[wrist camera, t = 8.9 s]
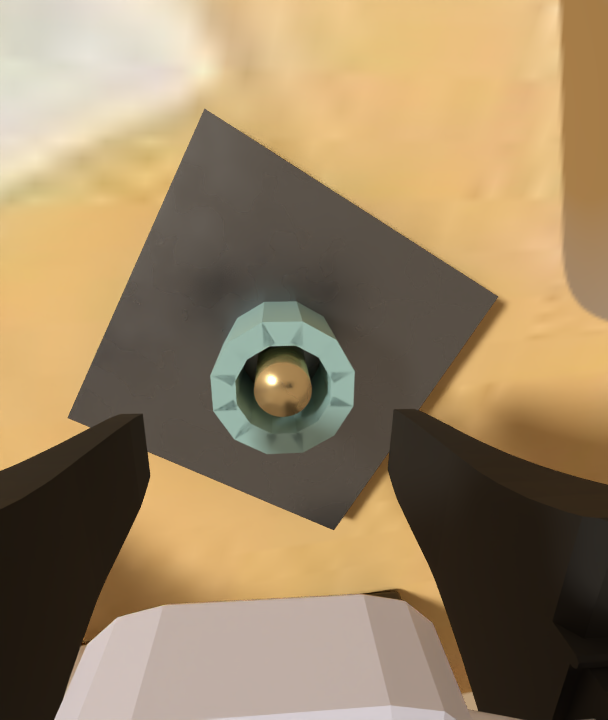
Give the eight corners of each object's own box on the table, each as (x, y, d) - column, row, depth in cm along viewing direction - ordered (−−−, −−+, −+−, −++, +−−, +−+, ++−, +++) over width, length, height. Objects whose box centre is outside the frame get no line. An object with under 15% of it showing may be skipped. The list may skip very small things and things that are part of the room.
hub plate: (330, 512, 24) (346, 591, 19) (81, 404, 21) (17, 464, 15) (482, 291, 20) (554, 314, 15) (210, 118, 17) (182, 71, 12)
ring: (336, 408, 20) (351, 450, 16) (227, 411, 20) (216, 456, 16) (339, 300, 18) (356, 320, 15) (220, 302, 18) (206, 323, 14)
